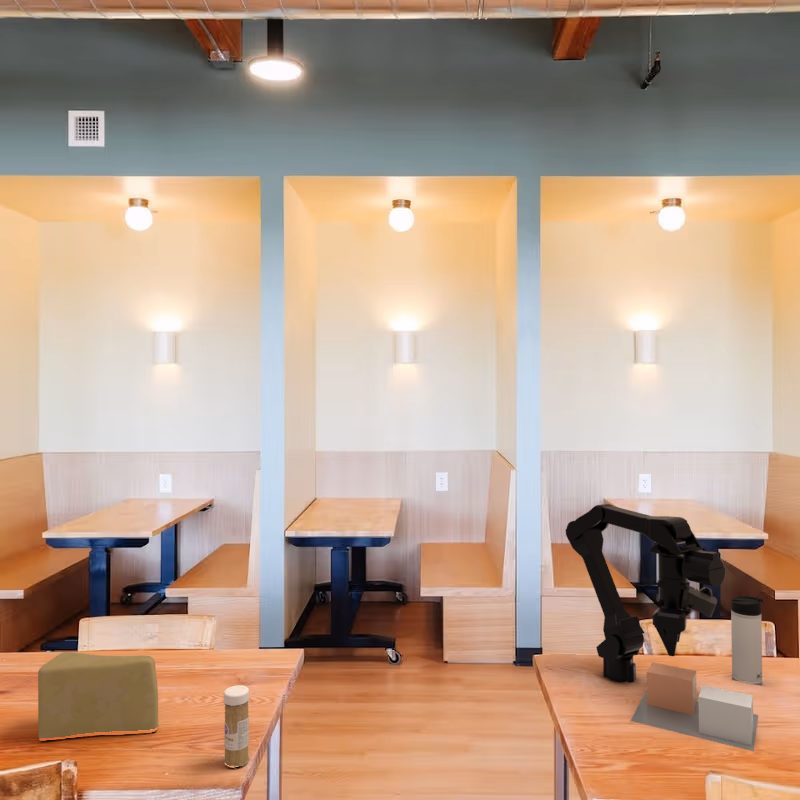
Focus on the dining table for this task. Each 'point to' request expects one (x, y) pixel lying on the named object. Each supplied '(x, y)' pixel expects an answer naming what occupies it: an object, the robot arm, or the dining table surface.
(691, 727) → the slate board
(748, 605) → the travel mug
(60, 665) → the cheese
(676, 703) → the tan block
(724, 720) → the light grey rectangular block
